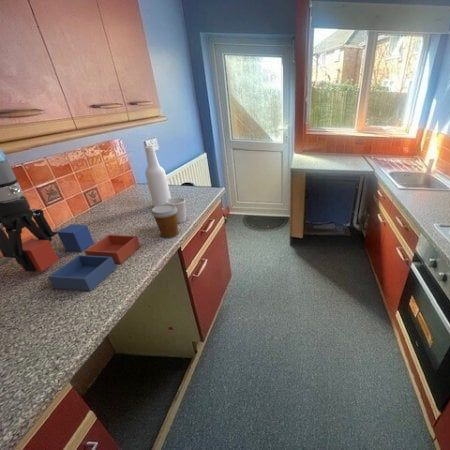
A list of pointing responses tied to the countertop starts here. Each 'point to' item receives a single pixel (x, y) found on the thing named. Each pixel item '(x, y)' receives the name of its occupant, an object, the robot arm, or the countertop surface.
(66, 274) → the blue bin
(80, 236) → the blue block
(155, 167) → the white bottle
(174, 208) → the disposable coffee cup
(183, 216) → the dixie cup
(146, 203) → the countertop surface
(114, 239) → the red bin
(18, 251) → the robot arm
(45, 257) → the red block
